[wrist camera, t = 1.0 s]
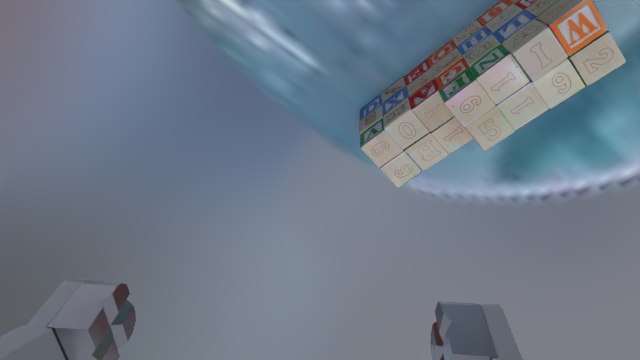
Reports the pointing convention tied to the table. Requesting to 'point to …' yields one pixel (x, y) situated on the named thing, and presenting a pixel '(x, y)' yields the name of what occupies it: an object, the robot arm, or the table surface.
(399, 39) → the table surface
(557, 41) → the stack of blocks
